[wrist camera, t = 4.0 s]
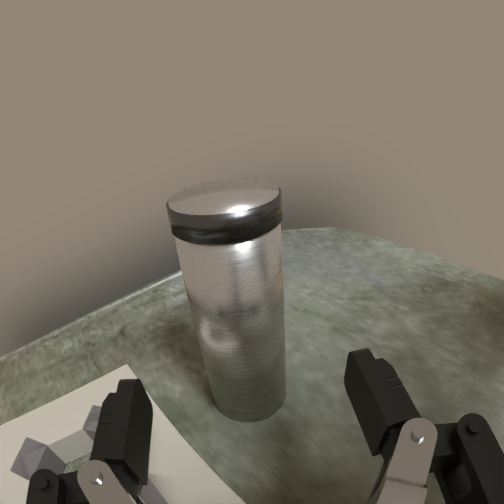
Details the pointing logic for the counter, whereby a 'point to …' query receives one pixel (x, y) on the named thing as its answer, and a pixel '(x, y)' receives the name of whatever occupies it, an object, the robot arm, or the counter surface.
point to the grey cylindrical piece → (235, 289)
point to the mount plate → (81, 442)
